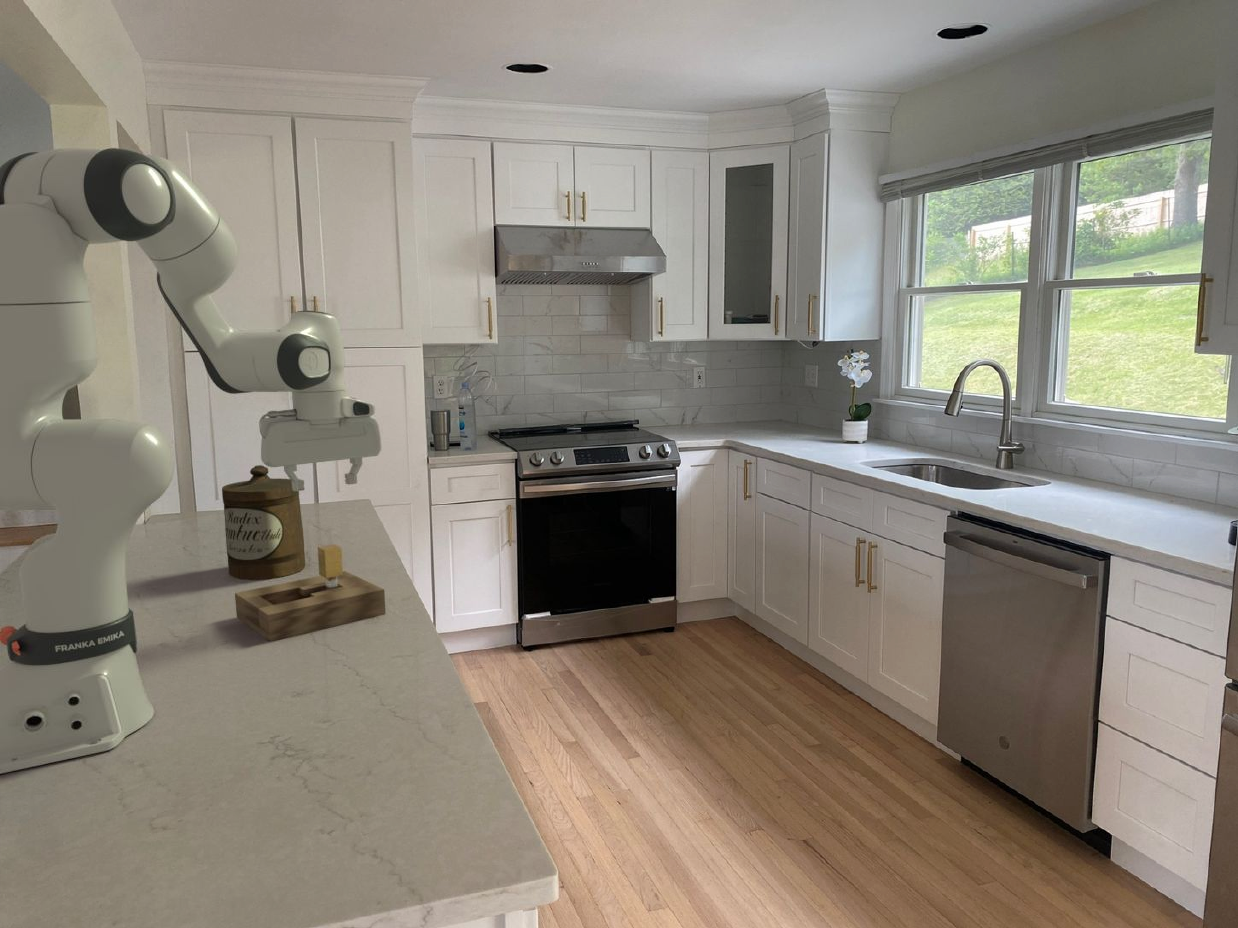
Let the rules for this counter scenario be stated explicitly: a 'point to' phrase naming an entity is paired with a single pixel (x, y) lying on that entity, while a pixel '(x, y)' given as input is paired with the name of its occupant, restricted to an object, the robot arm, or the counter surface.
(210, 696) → the counter surface
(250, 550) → the wooden container
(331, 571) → the keyhole peg
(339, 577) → the keyhole plate
